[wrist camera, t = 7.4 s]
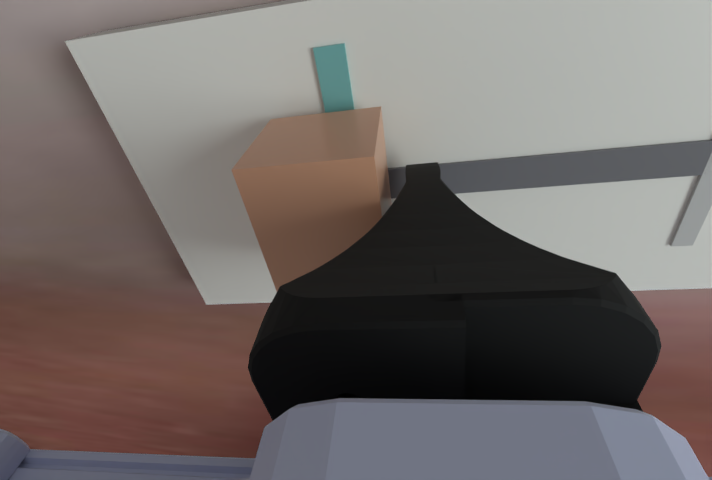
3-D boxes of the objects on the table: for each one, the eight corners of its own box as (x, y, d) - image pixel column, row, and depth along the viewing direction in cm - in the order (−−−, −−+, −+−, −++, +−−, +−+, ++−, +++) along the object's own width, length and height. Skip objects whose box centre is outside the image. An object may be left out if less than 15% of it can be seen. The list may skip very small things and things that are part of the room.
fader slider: (381, 106, 10) (374, 156, 7) (396, 255, 13) (395, 326, 10) (270, 119, 10) (231, 169, 8) (310, 260, 13) (290, 328, 11)
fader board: (1192, -153, 7) (1355, -174, 6) (862, 251, 13) (910, 284, 12) (100, 31, 11) (61, 41, 10) (220, 280, 17) (205, 306, 16)
